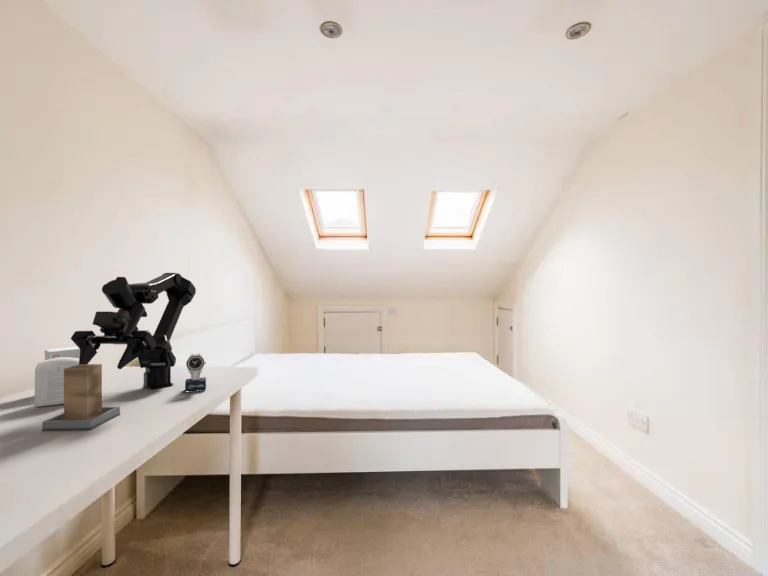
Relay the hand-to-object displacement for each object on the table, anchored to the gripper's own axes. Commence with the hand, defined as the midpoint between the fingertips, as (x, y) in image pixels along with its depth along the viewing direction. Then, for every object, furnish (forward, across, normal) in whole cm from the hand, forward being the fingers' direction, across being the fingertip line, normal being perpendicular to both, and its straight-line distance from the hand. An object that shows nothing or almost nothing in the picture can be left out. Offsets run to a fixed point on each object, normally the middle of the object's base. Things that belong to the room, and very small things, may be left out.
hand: (99, 368), depth 95 cm
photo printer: (+1, -17, +15) cm, 23 cm away
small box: (-7, -24, +23) cm, 34 cm away
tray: (+12, 0, +4) cm, 13 cm away
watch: (-7, +14, +24) cm, 28 cm away
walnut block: (+12, 0, +4) cm, 12 cm away
